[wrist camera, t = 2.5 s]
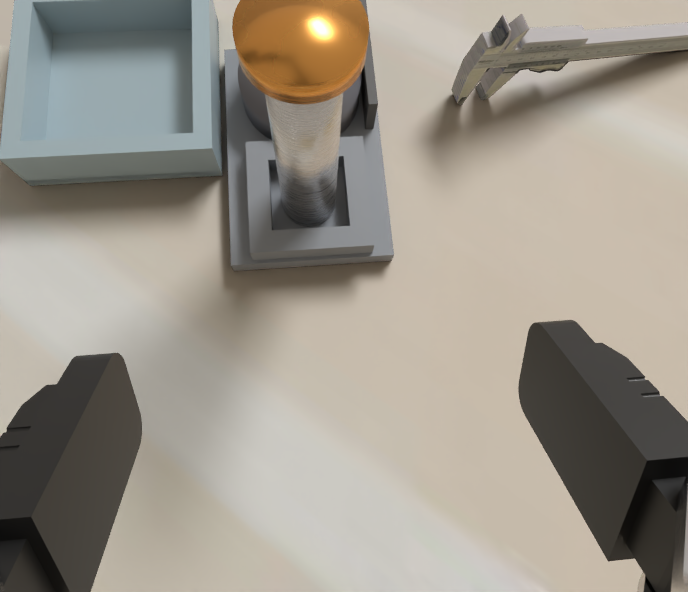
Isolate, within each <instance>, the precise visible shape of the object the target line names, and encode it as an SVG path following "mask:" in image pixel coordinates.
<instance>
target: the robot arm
mask: <svg viewBox="0 0 688 592" xmlns="http://www.w3.org/2000/svg"><path fill="white" fill-rule="evenodd" d="M519 399H520V403H521V407H522V410H523V412H524V414H525V416H526V418H527V420H528V421H529V423H530V425H531V427H532V428H533V430H534V432H535V434H536V435H537V437H538V439H539V441H540V442H541V444H542V446H543V448H544V449H545V451H546V453H547V455H548V456H549V458H550V460H551V462H552V463H553V465H554V467H555V469H556V470H557V472H558V474H559V476H560V477H561V479H562V481H563V483H564V485H565V486H566V488H567V490H568V492H569V493H570V495H571V497H572V499H573V500H574V502H575V504H576V506H577V507H578V509H579V511H580V513H581V514H582V516H583V518H584V520H585V521H586V523H587V525H588V527H589V528H590V530H591V532H592V534H593V535H594V537H595V539H596V541H597V542H598V544H599V546H600V548H601V549H602V551H603V553H604V555H605V556H606V558H607V560H608V561H615V560H624V559H633V558H635V559H636V561H637V562H638V564H639V566H640V567H641V569H642V570H643V573H642V575H641V577H640V580H639V584H638V591H637V592H688V421H687V420H686V419H685V418H684V417H683V416H682V415H681V414H680V413H679V412H678V411H677V410H676V409H675V408H674V407H673V406H672V405H671V404H670V403H669V401H668V400H667V399H666V398H665V397H664V396H660V394H659V391H658V390H657V389H656V388H655V387H654V386H653V385H652V384H651V382H650V381H649V380H645V376H644V375H643V374H642V373H641V372H640V371H639V370H638V369H637V368H636V367H635V366H634V365H633V363H632V362H631V361H630V360H629V359H628V358H627V357H625V356H623V355H622V354H620V353H618V352H617V351H615V350H613V349H612V348H610V347H608V346H607V345H605V344H603V343H595V342H594V341H593V340H592V339H591V338H590V337H589V336H588V335H587V333H586V332H585V331H584V330H583V329H582V328H581V327H580V326H579V324H578V323H576V322H575V321H573V320H564V321H551V322H538V323H533V324H532V325H531V327H530V329H529V332H528V336H527V342H526V347H525V353H524V358H523V363H522V369H521V374H520V379H519ZM141 436H142V421H141V414H140V411H139V407H138V404H137V401H136V397H135V394H134V391H133V388H132V384H131V381H130V378H129V374H128V371H127V368H126V364H125V362H124V359H123V357H122V356H121V355H120V354H119V353H110V354H97V355H84V356H76V357H74V358H73V359H72V360H71V362H70V364H69V365H68V367H67V368H66V370H65V372H64V373H63V375H62V377H61V378H60V380H59V382H58V383H57V384H55V385H46V386H45V387H43V388H42V389H41V390H40V391H39V392H37V393H36V394H35V395H34V396H33V397H31V398H30V399H29V400H28V401H26V402H25V403H24V404H23V405H22V406H21V407H20V409H19V410H18V412H17V413H16V415H15V416H14V418H13V419H12V421H11V422H10V424H9V425H8V427H7V432H6V433H3V434H2V436H1V437H0V592H90V591H91V589H92V586H93V583H94V580H95V577H96V574H97V571H98V568H99V565H100V562H101V559H102V556H103V553H104V550H105V547H106V544H107V541H108V538H109V535H110V532H111V529H112V526H113V523H114V520H115V517H116V515H117V512H118V509H119V506H120V503H121V500H122V497H123V494H124V491H125V488H126V485H127V482H128V479H129V476H130V473H131V470H132V467H133V464H134V461H135V458H136V455H137V452H138V449H139V446H140V442H141Z"/></svg>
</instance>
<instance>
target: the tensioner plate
mask: <svg viewBox="0 0 688 592" xmlns="http://www.w3.org/2000/svg"><path fill="white" fill-rule="evenodd" d="M360 2H361V3H362V5H363V7H364V9H365V11H366V14H367V6H366V0H360ZM367 17H368V15H367ZM224 51H225V85H226V119H227V152H228V186H229V219H230V253H231V267H232V268H233V270H234V271H242V270H257V269H272V268H287V267H303V266H318V265H333V264H348V263H363V262H378V261H392V258H393V256H394V251H393V242H392V234H391V225H390V217H389V208H388V199H387V191H386V182H385V174H384V165H383V156H382V148H381V139H380V131H379V122H378V113H377V106H378V100H377V92H376V83H375V74H374V66H373V57H372V49H371V40H370V32H369V36H368V44H367V52H366V60H365V64H364V67H363V69H362V72H361V74H360V75H359V77H358V78H357V80H356V81H355V82H354V83H353V85H352V86H351V87H349V88H348V89H347V90H346V91H344V92H343V102H342V116H341V130H340V144H339V159H338V173H337V187H336V201H335V208H334V211H333V213H332V215H331V216H330V217H329V219H327V220H326V221H325V222H323V223H322V224H319V225H316V226H302V225H299V224H297V223H295V222H293V221H292V220H291V219H290V218H289V217H288V216H287V215H286V213H285V211H284V208H283V204H282V197H281V191H280V185H279V179H278V172H277V166H276V160H275V154H274V147H273V141H272V135H271V129H270V122H269V116H268V110H267V104H266V98H265V94H264V93H263V92H261V91H260V90H258V89H257V88H256V87H255V86H254V85H253V84H252V83H251V82H250V81H249V80H248V79H247V77H246V76H245V74H244V72H243V71H242V68H241V66H240V63H239V59H238V55H237V51H236V49H231V50H224Z"/></svg>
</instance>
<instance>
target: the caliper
mask: <svg viewBox="0 0 688 592" xmlns="http://www.w3.org/2000/svg"><path fill="white" fill-rule="evenodd" d="M684 50H688V22H685V23H671V24H658V25H645V26H631V27H618V28H605V29H591V30H584V29H583V26H582V25H572V26H554V27H536V28H529V27H528V25H527V23H526V21H525V18H524V16H523V14H521V15H519V16H518V17H517V18H516V19H514V20H513V21H512V22H511V23H509V24H508V23H507V20H506V18H505V16H504V15H502V17H501V18H500V20H499V21H498V23H497V24H496V25H495V27H494V28H493V30H492V31H491V32H484V33H482V34H481V35H480V36H479V38H478V39H477V41H476V42H475V43H474V45H473V46H472V48H471V49H470V51H469V52H468V53H467V55H466V56H465V58H464V59H463V61H462V64H461V66H460V69H459V71H458V74H457V76H456V79H455V81H454V84H453V87H452V92H453V95H454V97H455V100H456V102H457V103H458V104H461V105H462V104H463V103H464V101H465V100H466V99H467V97H468V96H469V95H470V93H471V92H472V91H473V89H474V88H475V87H476V90H477V92H478V94H479V97H480V99H481V100H484V99H488V98H490V97H491V96H492V95H493V94H494V93H495V92H496V91H497V90H499V89H500V88H501V87H502V86H503V85H504V84H505V83H506V82H508V81H509V80H510V79H511V78H512V77H513V76H514V75H515V74H517V73H518V72H519V71H520V70H524V69H529V70H530V71H534V72H538V73H541V72H544V71H549V70H551V71H559V70H561V69H562V68H563V67H564V66H565V65H566V64H567V63H568V62H569V61H579V60H589V59H599V58H609V57H619V56H629V55H640V54H651V53H662V52H673V51H684ZM479 82H480V83H479ZM478 83H479V84H478ZM477 84H478V85H477Z"/></svg>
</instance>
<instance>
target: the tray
mask: <svg viewBox="0 0 688 592" xmlns="http://www.w3.org/2000/svg"><path fill="white" fill-rule="evenodd" d="M0 160H1V161H2V162H3V163H4V164H5V165H7V166H8V167H9V168H10V169H11V170H12V171H14V172H15V173H16V174H17V175H18V176H20V177H21V178H22V179H23V180H24V181H25V182H27V183H28V184H29V185H30V186H35V185H54V184H72V183H91V182H110V181H129V180H147V179H166V178H185V177H204V176H222V144H221V106H220V69H219V31H218V19H217V15H216V11H215V7H214V3H213V0H14V10H13V20H12V31H11V40H10V51H9V61H8V71H7V81H6V92H5V102H4V112H3V122H2V133H1V143H0Z"/></svg>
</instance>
